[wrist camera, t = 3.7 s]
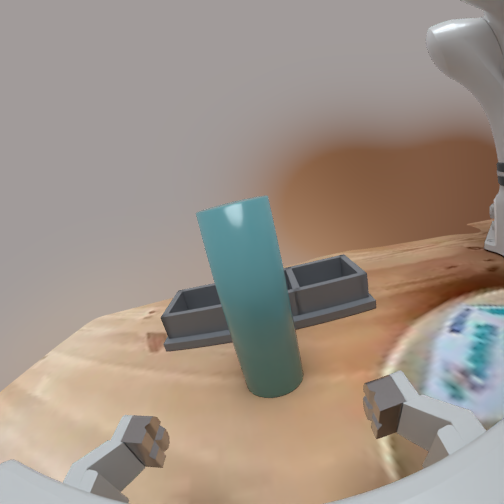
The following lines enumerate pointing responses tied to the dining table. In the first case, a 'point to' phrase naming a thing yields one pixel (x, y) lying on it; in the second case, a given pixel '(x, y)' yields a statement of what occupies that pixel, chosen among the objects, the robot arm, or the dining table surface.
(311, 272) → the cup rack
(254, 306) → the teal cylinder
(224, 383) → the dining table surface
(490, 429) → the robot arm
